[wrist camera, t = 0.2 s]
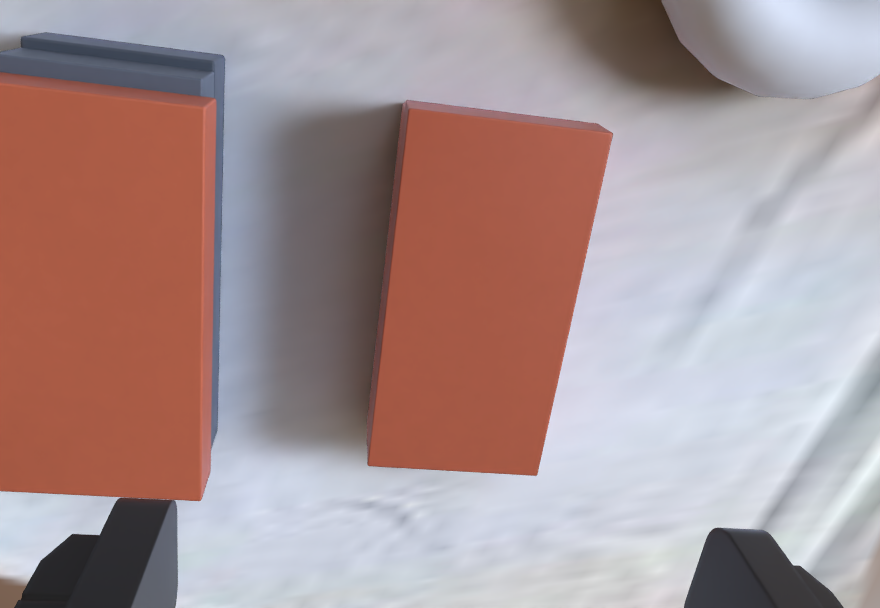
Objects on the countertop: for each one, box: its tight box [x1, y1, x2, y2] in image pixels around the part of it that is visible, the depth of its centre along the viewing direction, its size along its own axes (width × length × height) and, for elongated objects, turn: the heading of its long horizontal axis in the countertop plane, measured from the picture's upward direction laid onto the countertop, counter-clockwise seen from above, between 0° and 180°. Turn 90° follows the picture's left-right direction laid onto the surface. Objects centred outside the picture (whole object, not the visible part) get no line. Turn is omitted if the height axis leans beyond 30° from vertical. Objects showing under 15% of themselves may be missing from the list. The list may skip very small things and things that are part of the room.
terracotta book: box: [0, 72, 216, 501], centre depth 22 cm, size 12×6×2 cm, turn 172°
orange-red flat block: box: [367, 100, 613, 476], centre depth 26 cm, size 13×6×3 cm, turn 172°
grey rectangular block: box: [0, 33, 225, 448], centre depth 24 cm, size 14×5×4 cm, turn 172°
